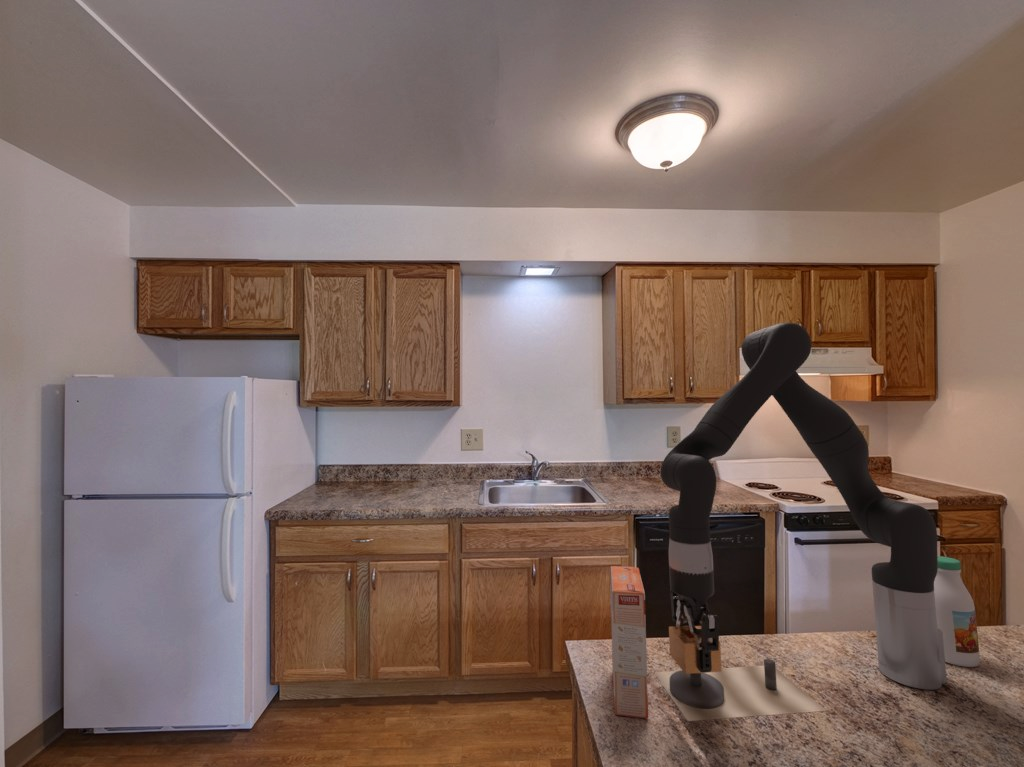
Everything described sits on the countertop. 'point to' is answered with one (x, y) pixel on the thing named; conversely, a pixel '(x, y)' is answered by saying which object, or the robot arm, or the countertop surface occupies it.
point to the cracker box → (629, 642)
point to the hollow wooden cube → (689, 650)
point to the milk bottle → (955, 615)
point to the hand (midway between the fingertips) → (694, 659)
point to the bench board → (736, 693)
